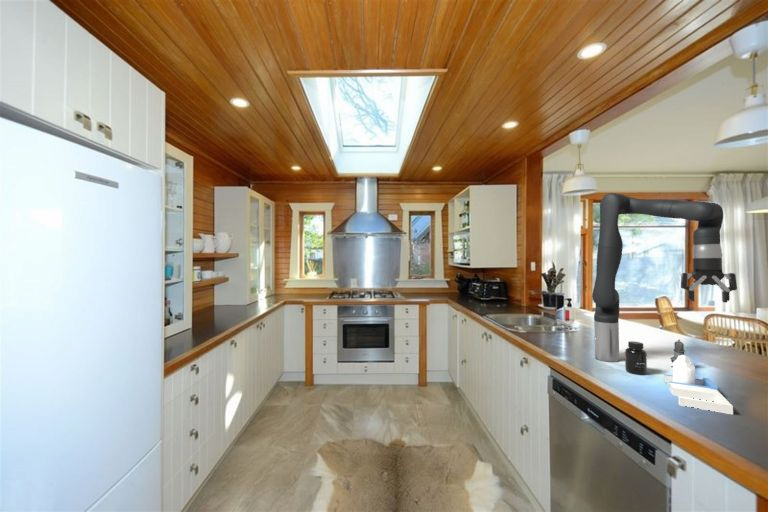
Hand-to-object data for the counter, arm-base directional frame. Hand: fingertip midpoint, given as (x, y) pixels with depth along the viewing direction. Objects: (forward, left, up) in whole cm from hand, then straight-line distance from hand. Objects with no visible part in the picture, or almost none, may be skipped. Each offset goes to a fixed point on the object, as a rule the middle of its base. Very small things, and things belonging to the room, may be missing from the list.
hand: (708, 301), depth 117 cm
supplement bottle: (-21, +3, -30) cm, 37 cm away
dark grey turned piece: (-5, +18, -30) cm, 36 cm away
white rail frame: (-8, -16, -30) cm, 35 cm away
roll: (-9, -9, -30) cm, 33 cm away
